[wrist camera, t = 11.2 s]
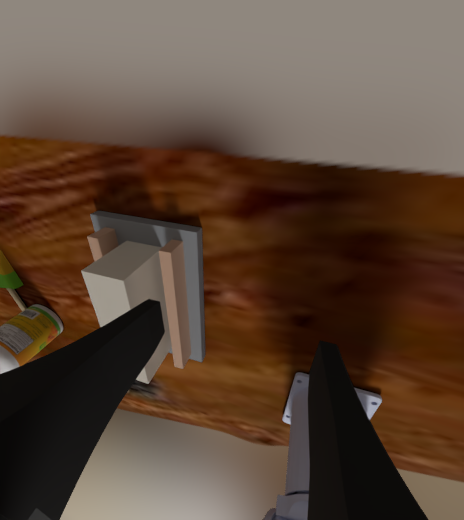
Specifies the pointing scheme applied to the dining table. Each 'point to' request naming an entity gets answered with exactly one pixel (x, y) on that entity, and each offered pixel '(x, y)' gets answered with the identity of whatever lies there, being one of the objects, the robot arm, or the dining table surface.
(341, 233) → the dining table surface
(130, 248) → the beige rectangular block
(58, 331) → the supplement bottle
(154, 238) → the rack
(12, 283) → the popsicle
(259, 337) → the dining table surface
